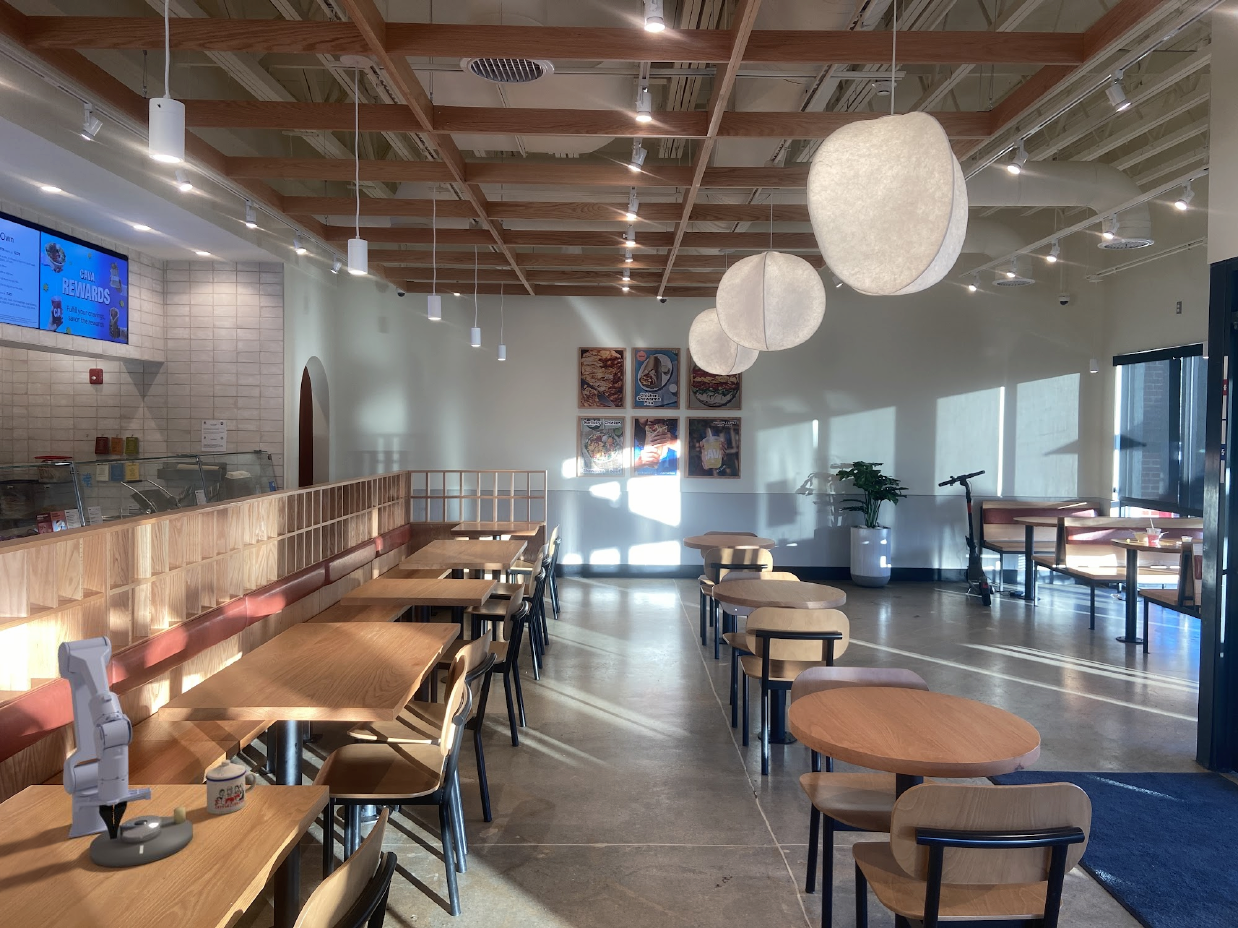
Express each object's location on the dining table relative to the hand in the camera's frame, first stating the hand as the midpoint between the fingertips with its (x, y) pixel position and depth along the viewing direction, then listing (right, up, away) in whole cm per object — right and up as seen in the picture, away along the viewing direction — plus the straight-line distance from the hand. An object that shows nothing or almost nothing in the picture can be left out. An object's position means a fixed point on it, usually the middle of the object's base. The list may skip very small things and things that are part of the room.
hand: (113, 836), depth 183 cm
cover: (+5, -1, +2) cm, 5 cm away
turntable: (+5, -3, +3) cm, 6 cm away
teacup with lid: (+15, -3, +24) cm, 28 cm away
